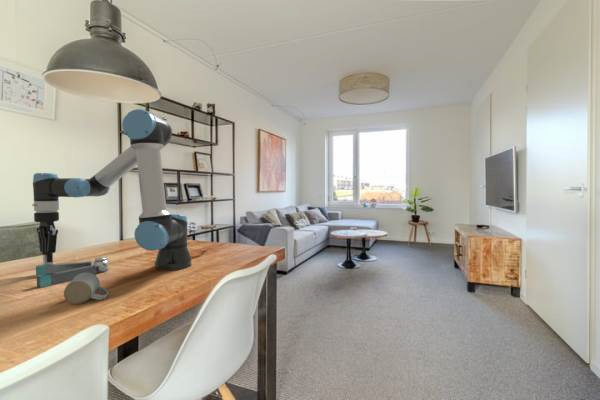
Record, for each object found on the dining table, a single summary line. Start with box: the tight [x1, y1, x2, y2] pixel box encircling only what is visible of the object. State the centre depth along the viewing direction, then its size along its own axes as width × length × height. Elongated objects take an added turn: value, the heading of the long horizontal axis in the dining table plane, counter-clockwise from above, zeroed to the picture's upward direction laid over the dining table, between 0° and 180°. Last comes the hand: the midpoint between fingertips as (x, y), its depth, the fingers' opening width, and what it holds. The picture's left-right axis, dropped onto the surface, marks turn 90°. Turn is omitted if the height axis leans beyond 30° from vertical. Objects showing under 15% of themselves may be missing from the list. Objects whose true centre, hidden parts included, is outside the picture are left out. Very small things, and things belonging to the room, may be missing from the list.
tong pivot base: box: [36, 258, 109, 289], centre depth 112 cm, size 24×6×4 cm, turn 151°
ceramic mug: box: [63, 273, 110, 305], centre depth 90 cm, size 11×8×8 cm
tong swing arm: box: [35, 256, 107, 277], centre depth 117 cm, size 23×6×5 cm, turn 116°
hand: (48, 269), depth 117 cm, fingers closed
